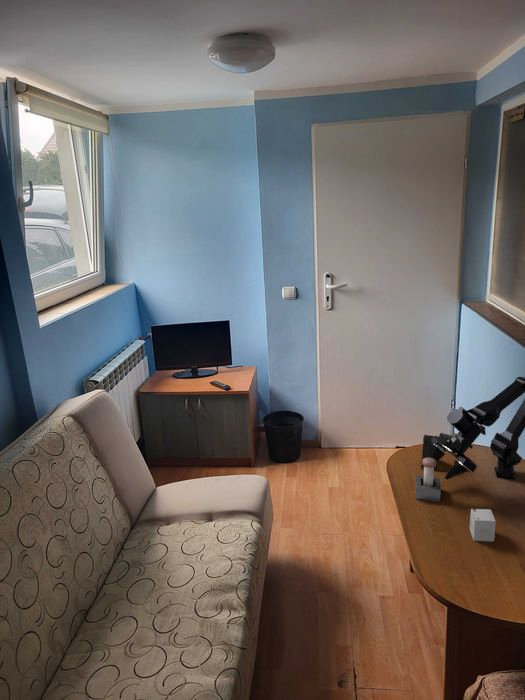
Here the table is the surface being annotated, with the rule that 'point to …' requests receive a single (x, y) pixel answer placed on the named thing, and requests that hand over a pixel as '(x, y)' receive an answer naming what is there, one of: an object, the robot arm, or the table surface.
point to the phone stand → (428, 450)
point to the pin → (428, 471)
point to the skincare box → (482, 525)
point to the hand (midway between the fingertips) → (437, 472)
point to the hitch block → (428, 489)
